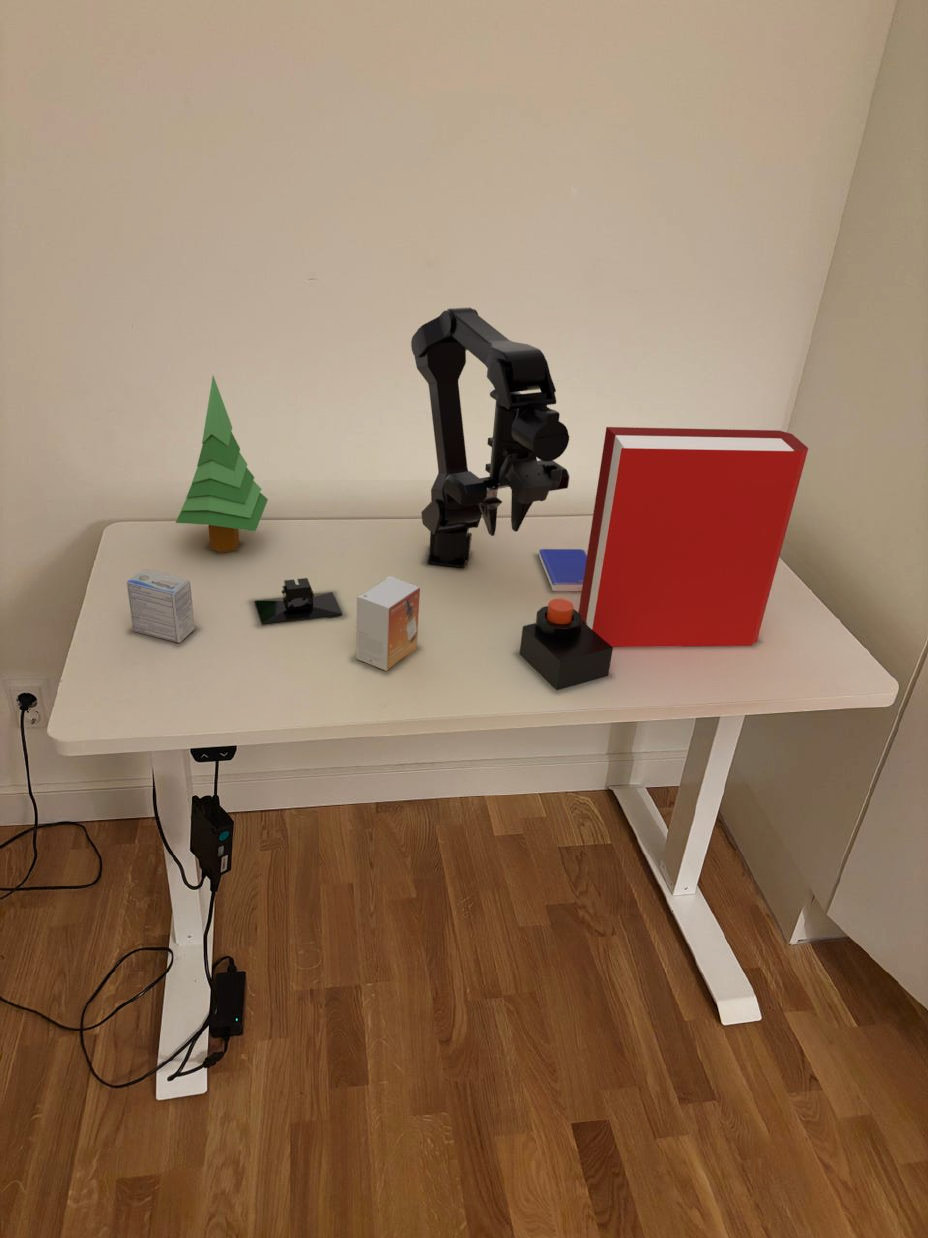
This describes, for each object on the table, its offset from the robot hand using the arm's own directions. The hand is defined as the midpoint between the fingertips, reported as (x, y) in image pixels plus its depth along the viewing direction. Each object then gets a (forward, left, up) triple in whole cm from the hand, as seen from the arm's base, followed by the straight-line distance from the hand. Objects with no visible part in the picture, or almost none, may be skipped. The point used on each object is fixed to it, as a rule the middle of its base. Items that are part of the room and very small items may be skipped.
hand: (503, 532), depth 148 cm
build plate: (-30, -9, -13) cm, 34 cm away
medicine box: (-47, -20, -13) cm, 53 cm away
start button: (+10, -13, -6) cm, 18 cm away
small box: (-14, -18, -13) cm, 26 cm away
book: (+27, -1, -13) cm, 30 cm away
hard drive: (+11, +14, -13) cm, 22 cm away
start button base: (+12, -15, -13) cm, 23 cm away
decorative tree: (-48, +8, -13) cm, 50 cm away
